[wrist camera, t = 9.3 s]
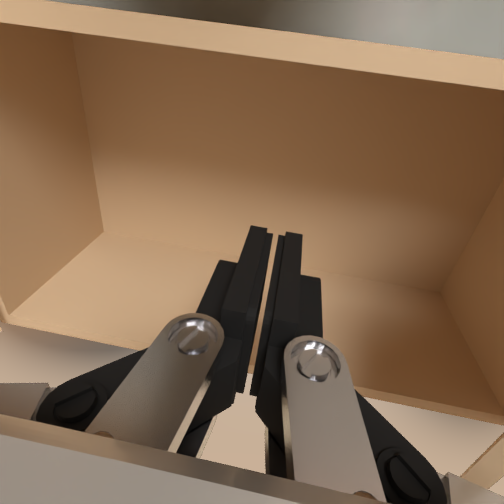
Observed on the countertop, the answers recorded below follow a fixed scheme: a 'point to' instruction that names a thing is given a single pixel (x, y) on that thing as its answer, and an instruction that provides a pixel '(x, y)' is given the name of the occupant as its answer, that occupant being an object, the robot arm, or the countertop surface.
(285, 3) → the countertop surface
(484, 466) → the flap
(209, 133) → the carton
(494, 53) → the countertop surface
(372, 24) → the countertop surface
